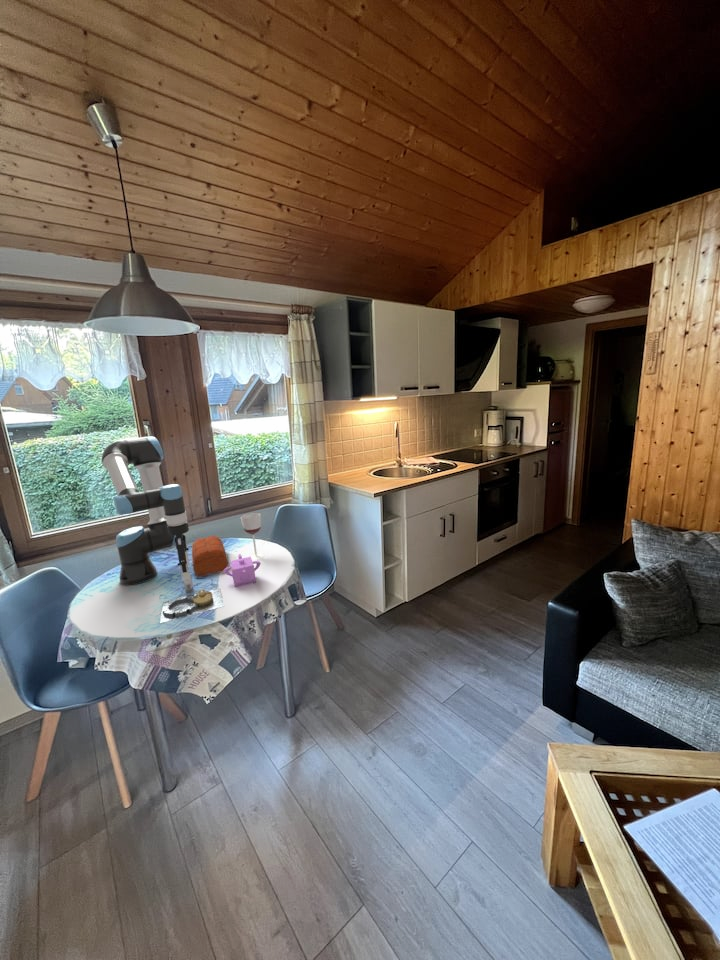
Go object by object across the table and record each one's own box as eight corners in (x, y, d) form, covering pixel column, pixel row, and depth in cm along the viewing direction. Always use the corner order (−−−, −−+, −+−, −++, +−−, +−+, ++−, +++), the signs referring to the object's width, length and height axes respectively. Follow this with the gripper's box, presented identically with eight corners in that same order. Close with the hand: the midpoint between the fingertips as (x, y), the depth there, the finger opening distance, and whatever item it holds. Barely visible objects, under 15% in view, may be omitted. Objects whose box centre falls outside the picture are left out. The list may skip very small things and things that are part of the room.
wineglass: (263, 560, 190) (257, 518, 185) (244, 561, 190) (238, 519, 185) (267, 553, 198) (262, 512, 194) (249, 554, 199) (243, 513, 194)
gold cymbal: (193, 599, 154) (192, 589, 153) (212, 595, 156) (210, 585, 155) (194, 608, 147) (192, 597, 146) (213, 603, 150) (211, 592, 149)
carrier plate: (163, 605, 154) (162, 599, 153) (221, 591, 162) (220, 585, 161) (160, 626, 139) (159, 620, 139) (224, 609, 148) (223, 603, 147)
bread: (194, 578, 176) (190, 556, 174) (192, 557, 200) (189, 538, 198) (229, 570, 182) (226, 549, 180) (224, 550, 206) (221, 532, 204)
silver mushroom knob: (181, 593, 163) (177, 574, 161) (199, 589, 166) (195, 570, 164) (181, 601, 157) (177, 581, 155) (199, 596, 159) (196, 577, 157)
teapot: (220, 586, 166) (216, 563, 164) (242, 573, 178) (239, 551, 175) (247, 593, 159) (243, 568, 157) (268, 578, 171) (265, 555, 168)
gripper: (168, 517, 164) (177, 563, 168) (165, 534, 141) (175, 587, 146) (187, 513, 167) (195, 559, 171) (187, 530, 144) (196, 582, 149)
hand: (186, 572), depth 158 cm, fingers open, 13 cm apart
